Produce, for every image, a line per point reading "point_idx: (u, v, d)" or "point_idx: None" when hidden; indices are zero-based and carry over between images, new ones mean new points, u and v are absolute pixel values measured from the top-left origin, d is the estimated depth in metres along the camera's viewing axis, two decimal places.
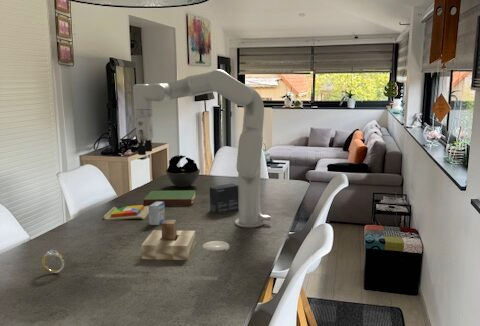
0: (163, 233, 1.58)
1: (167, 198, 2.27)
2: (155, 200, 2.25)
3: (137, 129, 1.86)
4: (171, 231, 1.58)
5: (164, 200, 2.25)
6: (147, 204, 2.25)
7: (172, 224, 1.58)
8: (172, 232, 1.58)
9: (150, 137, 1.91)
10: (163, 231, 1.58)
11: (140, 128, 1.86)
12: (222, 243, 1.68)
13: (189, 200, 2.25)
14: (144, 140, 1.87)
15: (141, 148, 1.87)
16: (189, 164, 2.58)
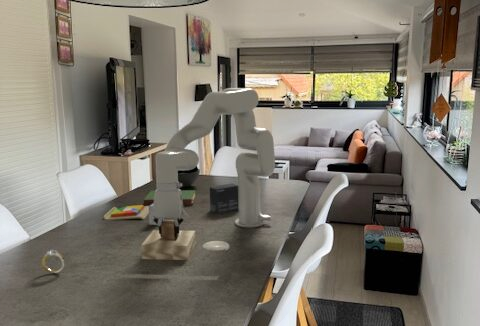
0: (163, 233, 1.58)
1: None
2: None
3: (180, 205, 1.57)
4: (171, 231, 1.58)
5: None
6: (147, 204, 2.25)
7: (172, 224, 1.58)
8: (172, 232, 1.58)
9: None
10: (163, 231, 1.58)
11: (182, 205, 1.58)
12: (222, 243, 1.68)
13: (189, 200, 2.25)
14: (178, 218, 1.61)
15: (178, 228, 1.60)
16: None
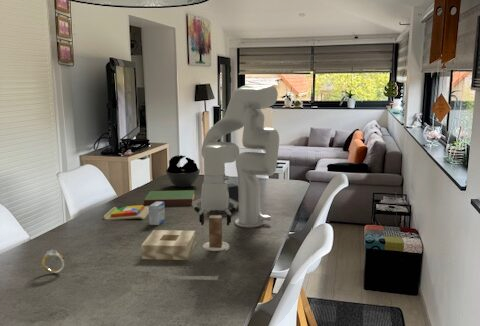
0: (210, 228, 1.63)
1: (167, 198, 2.26)
2: (156, 200, 2.25)
3: (227, 197, 1.61)
4: (218, 226, 1.63)
5: (165, 200, 2.25)
6: (147, 204, 2.25)
7: (219, 219, 1.62)
8: (219, 227, 1.63)
9: None
10: (210, 226, 1.63)
11: (228, 195, 1.62)
12: (222, 243, 1.68)
13: (190, 200, 2.25)
14: (228, 207, 1.65)
15: (230, 216, 1.64)
16: (189, 164, 2.58)
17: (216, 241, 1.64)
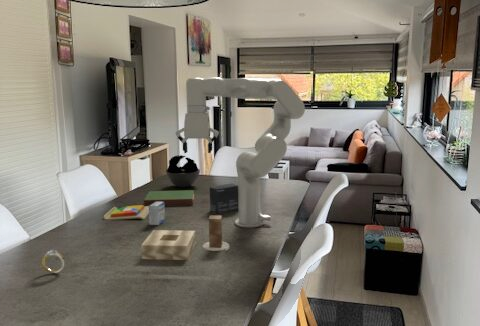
0: (210, 228, 1.63)
1: (168, 198, 2.26)
2: (156, 200, 2.24)
3: (208, 126, 1.75)
4: (218, 226, 1.63)
5: (165, 200, 2.25)
6: (148, 205, 2.24)
7: (219, 219, 1.62)
8: (219, 227, 1.63)
9: None
10: (210, 226, 1.63)
11: (209, 124, 1.77)
12: (222, 243, 1.68)
13: (190, 200, 2.25)
14: (209, 137, 1.79)
15: None
16: (189, 164, 2.58)
17: (216, 241, 1.64)
